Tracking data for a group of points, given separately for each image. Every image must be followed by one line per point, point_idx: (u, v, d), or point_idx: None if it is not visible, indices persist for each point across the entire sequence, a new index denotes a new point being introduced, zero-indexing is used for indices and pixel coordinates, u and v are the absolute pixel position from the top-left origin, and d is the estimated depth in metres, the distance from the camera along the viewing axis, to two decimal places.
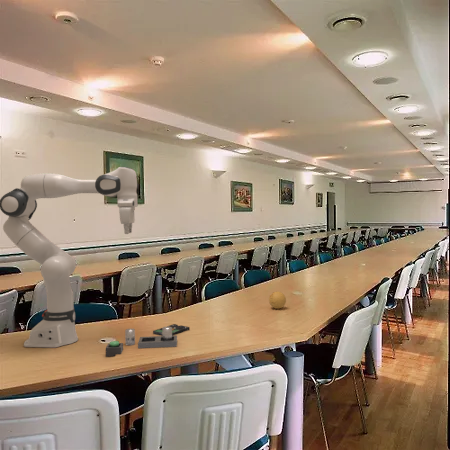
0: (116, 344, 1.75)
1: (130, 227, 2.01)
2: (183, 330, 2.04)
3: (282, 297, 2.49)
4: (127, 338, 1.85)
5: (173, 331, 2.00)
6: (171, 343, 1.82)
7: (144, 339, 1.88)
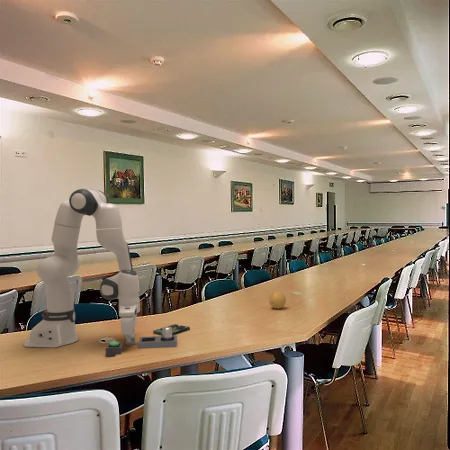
0: (116, 344, 1.75)
1: None
2: (183, 330, 2.04)
3: (282, 297, 2.49)
4: None
5: (174, 331, 2.00)
6: (171, 343, 1.82)
7: (144, 339, 1.88)
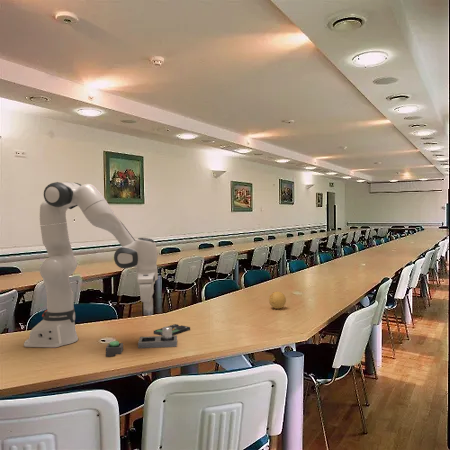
0: (116, 344, 1.75)
1: None
2: (184, 330, 2.04)
3: (282, 297, 2.49)
4: None
5: (174, 331, 2.00)
6: (171, 343, 1.82)
7: (144, 339, 1.88)
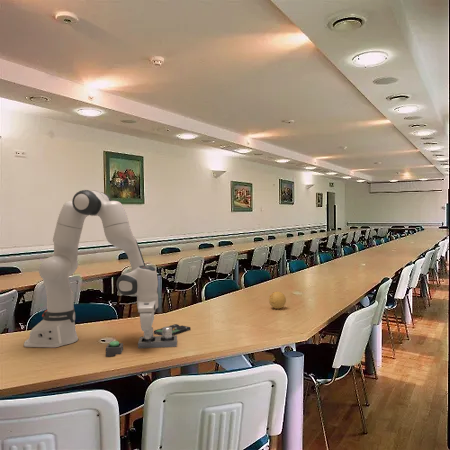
0: (116, 344, 1.75)
1: None
2: (184, 330, 2.04)
3: (282, 297, 2.49)
4: None
5: (174, 331, 2.00)
6: (171, 343, 1.82)
7: None
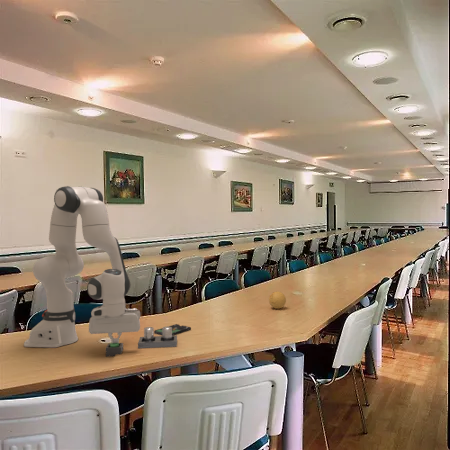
0: (116, 345, 1.75)
1: (118, 337, 1.76)
2: (184, 330, 2.04)
3: (282, 297, 2.49)
4: (146, 337, 1.83)
5: (174, 331, 2.00)
6: (171, 343, 1.82)
7: None
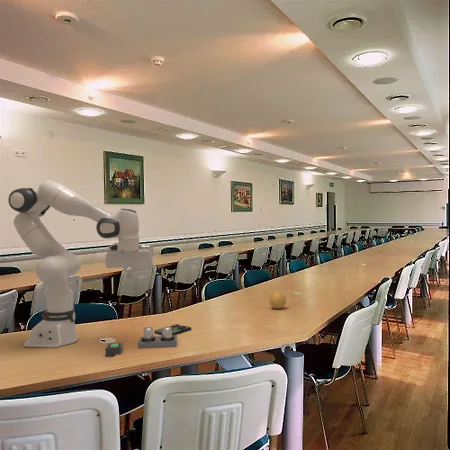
0: None
1: None
2: (184, 330, 2.04)
3: (282, 297, 2.49)
4: (146, 337, 1.83)
5: (174, 331, 2.00)
6: (171, 343, 1.82)
7: None
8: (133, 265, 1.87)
